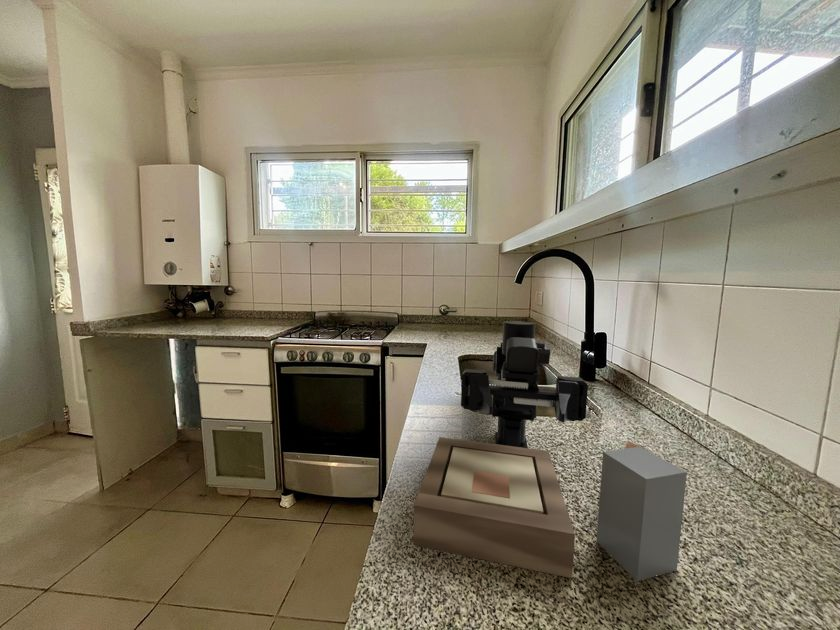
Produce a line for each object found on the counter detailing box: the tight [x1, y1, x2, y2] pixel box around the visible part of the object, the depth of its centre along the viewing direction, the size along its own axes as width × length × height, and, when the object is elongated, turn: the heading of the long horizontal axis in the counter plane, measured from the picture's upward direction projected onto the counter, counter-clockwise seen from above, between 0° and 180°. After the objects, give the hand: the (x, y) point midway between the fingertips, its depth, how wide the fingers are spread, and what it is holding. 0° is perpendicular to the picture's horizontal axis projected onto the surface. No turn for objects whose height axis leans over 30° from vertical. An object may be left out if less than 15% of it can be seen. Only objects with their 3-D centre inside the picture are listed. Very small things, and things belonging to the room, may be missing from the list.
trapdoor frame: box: [412, 436, 576, 579], centre depth 48 cm, size 19×19×6 cm
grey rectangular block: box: [595, 447, 688, 582], centre depth 40 cm, size 6×6×12 cm
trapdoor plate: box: [441, 447, 543, 514], centre depth 48 cm, size 13×13×1 cm
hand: (526, 414), depth 43 cm, fingers open, 9 cm apart
